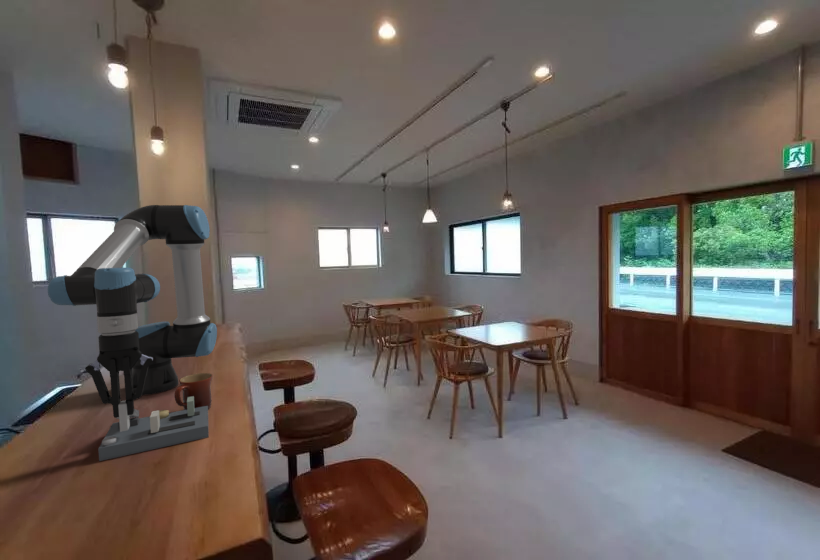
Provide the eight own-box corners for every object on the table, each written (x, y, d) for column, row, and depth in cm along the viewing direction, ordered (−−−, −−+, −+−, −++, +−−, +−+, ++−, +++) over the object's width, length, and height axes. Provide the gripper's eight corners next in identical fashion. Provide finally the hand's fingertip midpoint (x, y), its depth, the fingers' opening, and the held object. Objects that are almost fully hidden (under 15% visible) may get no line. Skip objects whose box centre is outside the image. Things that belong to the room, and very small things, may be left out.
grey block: (188, 411, 103) (187, 397, 103) (194, 410, 104) (193, 396, 103) (187, 416, 99) (186, 402, 99) (194, 415, 100) (193, 400, 100)
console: (113, 434, 97) (112, 417, 97) (208, 415, 108) (207, 400, 108) (99, 461, 84) (97, 442, 84) (208, 437, 95) (207, 420, 95)
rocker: (122, 419, 98) (122, 412, 98) (139, 416, 99) (139, 409, 100) (116, 418, 91) (116, 411, 92) (133, 415, 93) (133, 408, 93)
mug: (196, 404, 117) (194, 372, 116) (220, 405, 115) (219, 373, 115) (164, 420, 105) (162, 385, 105) (190, 423, 103) (188, 387, 103)
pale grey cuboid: (152, 426, 94) (152, 411, 93) (160, 425, 94) (159, 410, 94) (150, 433, 90) (149, 417, 90) (158, 431, 91) (157, 415, 91)
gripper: (78, 338, 81) (85, 442, 83) (149, 331, 88) (155, 428, 89) (87, 332, 88) (94, 429, 89) (153, 327, 94) (159, 417, 96)
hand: (125, 428), depth 89 cm, fingers closed
